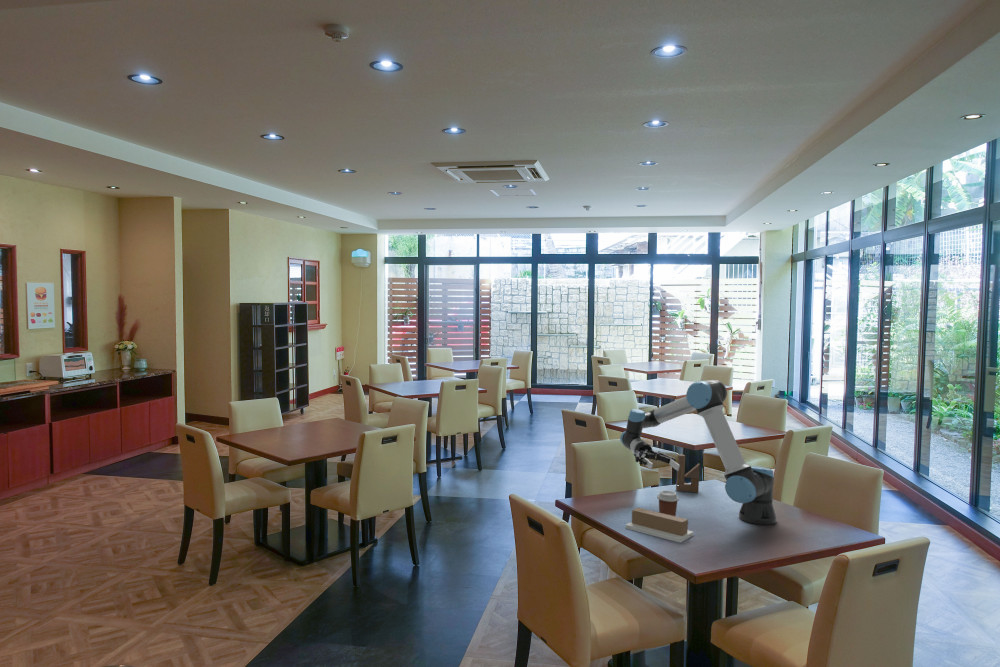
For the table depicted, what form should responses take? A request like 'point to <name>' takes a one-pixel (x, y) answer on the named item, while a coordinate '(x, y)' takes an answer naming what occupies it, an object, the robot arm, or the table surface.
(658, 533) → the stand
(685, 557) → the table surface
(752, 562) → the table surface
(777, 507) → the table surface
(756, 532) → the table surface
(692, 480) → the brown wooden angular stand
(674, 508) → the coffee cup
